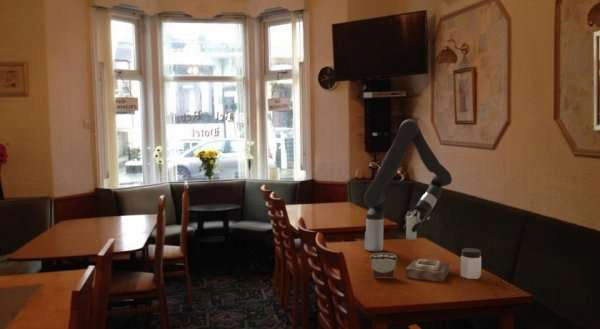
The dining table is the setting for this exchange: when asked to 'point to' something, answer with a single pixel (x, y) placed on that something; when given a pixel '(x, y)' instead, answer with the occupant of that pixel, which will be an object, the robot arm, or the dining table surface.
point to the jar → (471, 263)
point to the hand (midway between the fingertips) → (408, 230)
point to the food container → (383, 265)
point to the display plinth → (427, 270)
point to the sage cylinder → (410, 227)
